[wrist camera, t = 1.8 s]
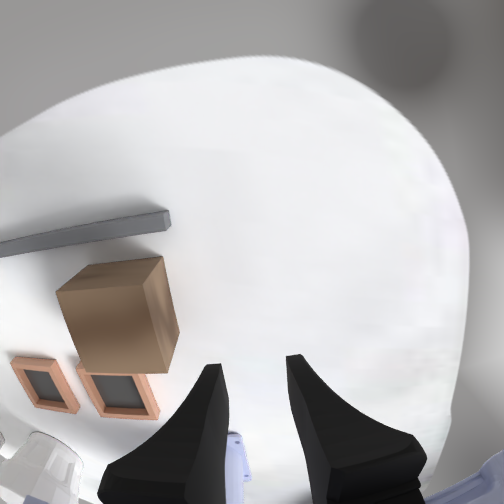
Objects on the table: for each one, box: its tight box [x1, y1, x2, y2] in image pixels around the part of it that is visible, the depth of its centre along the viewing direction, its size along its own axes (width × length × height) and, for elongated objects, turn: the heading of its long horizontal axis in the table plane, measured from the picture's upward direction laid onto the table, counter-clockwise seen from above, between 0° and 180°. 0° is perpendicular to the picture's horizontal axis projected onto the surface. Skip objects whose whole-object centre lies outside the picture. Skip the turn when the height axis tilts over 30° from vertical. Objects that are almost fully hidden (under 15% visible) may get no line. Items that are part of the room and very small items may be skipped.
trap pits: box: [10, 357, 160, 420], centre depth 23 cm, size 6×15×1 cm, turn 96°
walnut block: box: [56, 256, 180, 374], centre depth 19 cm, size 6×6×5 cm
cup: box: [0, 432, 84, 504], centre depth 22 cm, size 12×12×11 cm
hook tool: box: [0, 211, 171, 258], centre depth 20 cm, size 11×27×2 cm, turn 96°
